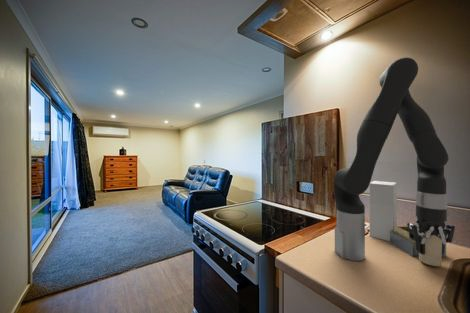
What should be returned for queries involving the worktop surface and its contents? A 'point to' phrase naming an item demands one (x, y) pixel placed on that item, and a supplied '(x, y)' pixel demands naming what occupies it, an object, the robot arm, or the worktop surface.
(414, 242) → the grey open box
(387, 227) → the tall white carton
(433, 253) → the candle
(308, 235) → the worktop surface
